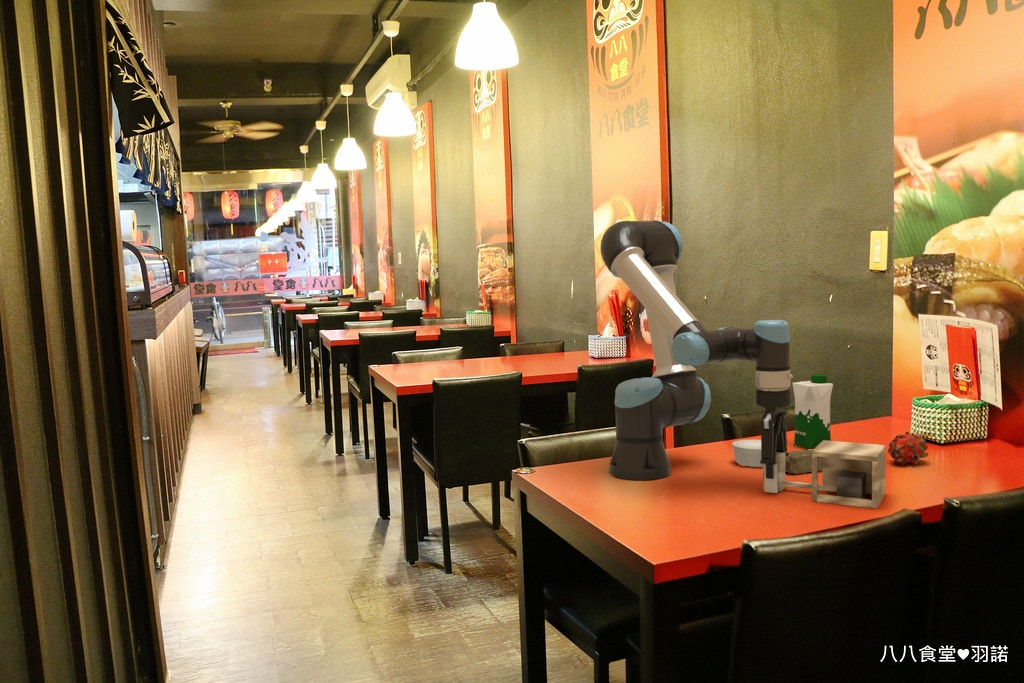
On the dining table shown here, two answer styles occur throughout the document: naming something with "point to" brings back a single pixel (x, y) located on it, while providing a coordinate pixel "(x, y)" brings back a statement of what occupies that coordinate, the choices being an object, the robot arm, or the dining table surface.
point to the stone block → (801, 462)
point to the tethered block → (846, 485)
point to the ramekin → (747, 452)
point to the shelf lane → (850, 459)
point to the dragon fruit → (907, 448)
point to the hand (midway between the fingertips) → (775, 488)
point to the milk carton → (812, 411)
